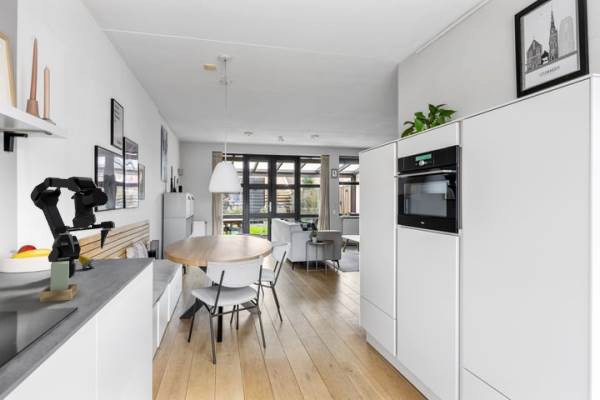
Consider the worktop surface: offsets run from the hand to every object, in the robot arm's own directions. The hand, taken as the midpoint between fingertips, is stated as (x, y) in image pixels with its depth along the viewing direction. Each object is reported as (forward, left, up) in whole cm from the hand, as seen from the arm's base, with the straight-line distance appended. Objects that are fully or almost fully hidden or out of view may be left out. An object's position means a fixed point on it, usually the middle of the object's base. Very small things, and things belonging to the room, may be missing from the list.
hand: (87, 250), depth 120 cm
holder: (-4, -19, -12) cm, 22 cm away
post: (-4, -19, -12) cm, 23 cm away
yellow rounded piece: (-5, +23, -12) cm, 26 cm away
